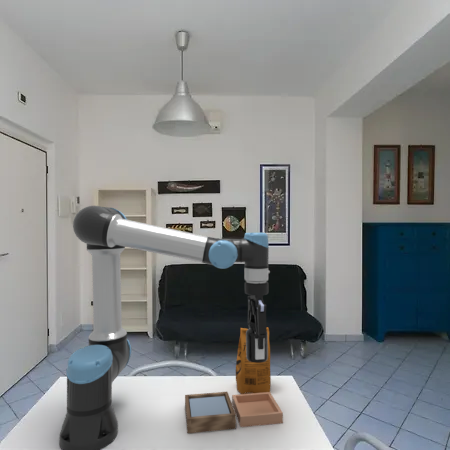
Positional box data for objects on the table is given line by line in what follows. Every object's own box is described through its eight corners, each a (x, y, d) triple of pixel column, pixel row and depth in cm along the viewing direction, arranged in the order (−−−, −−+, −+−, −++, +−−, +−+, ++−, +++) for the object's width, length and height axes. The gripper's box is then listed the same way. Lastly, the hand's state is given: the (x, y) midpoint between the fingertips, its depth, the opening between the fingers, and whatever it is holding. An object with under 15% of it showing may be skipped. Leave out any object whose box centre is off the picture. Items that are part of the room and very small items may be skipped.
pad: (191, 422, 97) (191, 418, 97) (189, 401, 108) (189, 398, 108) (230, 418, 98) (230, 415, 98) (224, 399, 110) (224, 396, 110)
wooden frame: (187, 433, 95) (187, 419, 95) (184, 407, 109) (184, 394, 109) (235, 428, 97) (235, 414, 97) (227, 403, 111) (227, 391, 111)
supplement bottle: (267, 355, 109) (267, 318, 109) (268, 363, 102) (268, 324, 102) (246, 354, 109) (246, 317, 110) (245, 363, 103) (245, 323, 103)
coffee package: (234, 382, 127) (235, 324, 127) (267, 381, 127) (267, 323, 127) (237, 395, 117) (237, 332, 117) (272, 394, 117) (272, 331, 117)
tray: (240, 427, 98) (240, 416, 98) (232, 404, 111) (232, 395, 111) (282, 423, 100) (282, 413, 100) (269, 400, 113) (270, 392, 113)
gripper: (277, 286, 97) (278, 366, 97) (259, 276, 116) (259, 342, 116) (252, 287, 96) (252, 368, 95) (238, 277, 115) (238, 344, 115)
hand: (256, 354), depth 106 cm, fingers closed on supplement bottle, 7 cm apart
